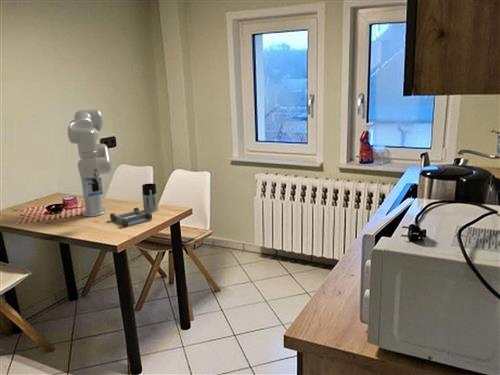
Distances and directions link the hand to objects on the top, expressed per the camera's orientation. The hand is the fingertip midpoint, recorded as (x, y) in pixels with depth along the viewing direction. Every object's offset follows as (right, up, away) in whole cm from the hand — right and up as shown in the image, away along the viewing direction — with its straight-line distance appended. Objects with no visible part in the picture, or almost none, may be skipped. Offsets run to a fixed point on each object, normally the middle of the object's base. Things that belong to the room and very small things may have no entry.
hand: (93, 189), depth 213 cm
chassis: (+16, -16, +11) cm, 25 cm away
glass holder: (+24, -13, +25) cm, 37 cm away
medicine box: (0, -3, +1) cm, 3 cm away
